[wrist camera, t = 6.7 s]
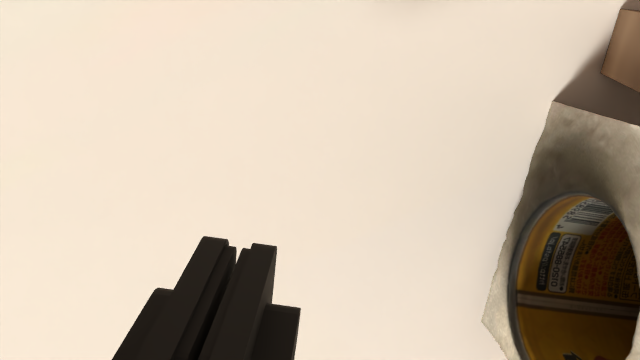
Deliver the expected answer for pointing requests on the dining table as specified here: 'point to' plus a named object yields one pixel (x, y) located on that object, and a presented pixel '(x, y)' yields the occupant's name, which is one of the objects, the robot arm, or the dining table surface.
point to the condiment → (573, 246)
